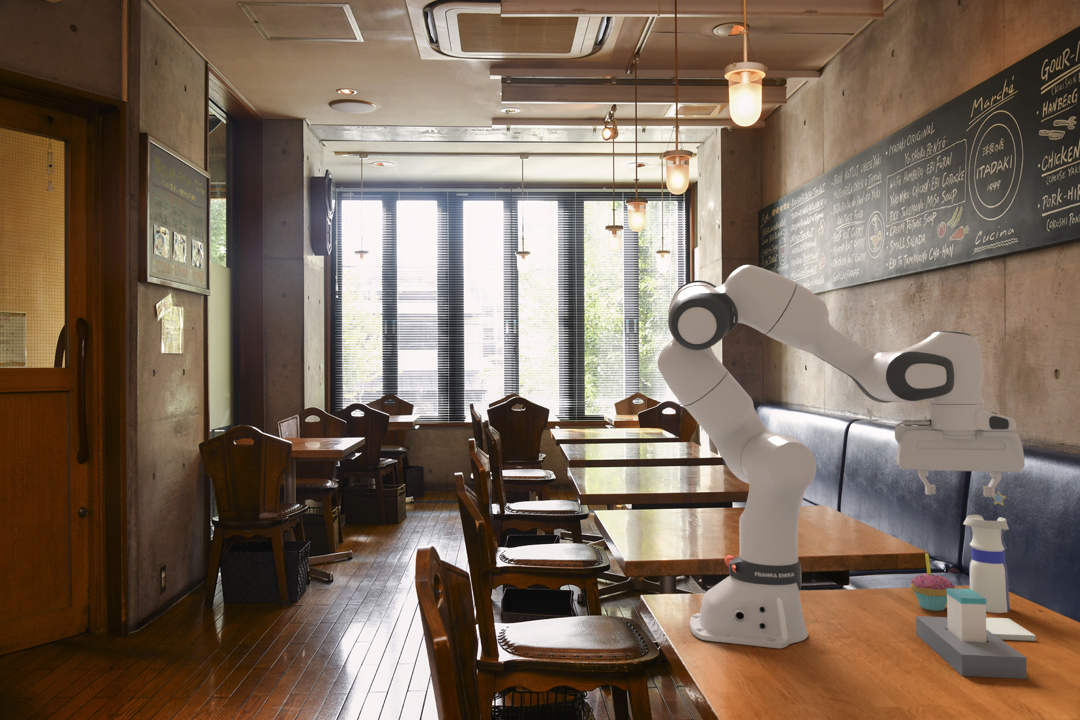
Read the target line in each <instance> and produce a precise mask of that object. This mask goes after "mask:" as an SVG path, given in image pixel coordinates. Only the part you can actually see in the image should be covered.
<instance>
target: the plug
mask: <svg viewBox="0 0 1080 720" xmlns="http://www.w3.org/2000/svg"><path fill="white" fill-rule="evenodd" d="M946 607H947V609H946V611H947V613H946V614H947V616H946V617H947V621H948V631H949V632H950V633H951V634H952V635H954V636H955V637H956V638H957V639H959V640H960V641H967V642H986V618H987V612H986V598H984V597H983V596H981V595H979V594H978V593H976V592H974V591H973V590H971V589H969V588H959V587H957V588H956V587H955V588H947V604H946Z"/></svg>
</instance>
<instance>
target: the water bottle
mask: <svg viewBox="0 0 1080 720" xmlns="http://www.w3.org/2000/svg"><path fill="white" fill-rule="evenodd" d="M1006 498H1007V496H1006V495H1002V494H1001V492H1000V491H999V490H997V492H996V493H995V497H992V499H994V502H993V505H997V504H999V505H1001V506H1003V507H1004V502H1003V501H1004V500H1005V499H1006ZM1007 522H1008V521H1007V519H1006V518H1004V517H1001V516H999V517H998V518H997V519H996V520H985V519H984V517H983V516H982V515H979V514H969V515H967V516H966V518H965V520H964V521H963V523H962V524H963V525H965V526H966V527H970V529H971V533H972V535H971V540H970V542H968V545H969V546H970V547H971V549H970V551H971V553H970V555H971V557H970V561H969V566H968V571H969V572H968V574H969V575H968V576H969V577H968V578H969V579H968V581H969V585H968V587H969V588H968V589H971V590H973V591H974V592H976V593H978V594H979V595H981V596H983V597H984V598H986V613H987V612H988V613H995V614H1003V613H1005V614H1006V613H1009V612H1010V611H1011V605H1010V603H1011V602H1010V596H1009V574H1008V566H1007V563H1006V550H1007V548H1008V547H1007V546H1006V544H1005V541H1004V532H1005V531H1009V530H1010V528H1009V525H1008V523H1007Z"/></svg>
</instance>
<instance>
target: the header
mask: <svg viewBox="0 0 1080 720" xmlns="http://www.w3.org/2000/svg"><path fill="white" fill-rule="evenodd" d="M915 635H916V636H918V638H919V639H920V640H922V641H923V642H924V644H926V645H927V646H928V647H930V648H931V650H932V651H934V652H935V653H936V655H939V657H941V658H942V659H943V660H944V661H945V662H946V663H948V665H949V666H950V667H952V669H954V670H955V671H956V672H957V673H958V674H959V675H961V676H962V677H978V678H980V677H981V678H1000V679H1020V680H1021V679H1025V680H1027V679H1028V678H1027V675H1028V674H1027V657H1026V656H1025V655H1024V654H1022V653H1021V652H1019V651H1018V650H1016V649H1015V648H1013V646H1011V645H1010V644H1008V643H1007V642H1005V640H1004V641H1003V640H1002V639H999V638H998V637H997V636H995V635H994V634H992V633H991V632H990V631H988V630H987V629H986V642H967V641H960V640H959V639H957V638H956V637H955V636H954V635H952V634H951V633H950V632H949V631H948V621H947V616H924V615H922V616H920V615H918V616H917V615H916V616H915Z"/></svg>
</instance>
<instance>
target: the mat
mask: <svg viewBox="0 0 1080 720" xmlns="http://www.w3.org/2000/svg"><path fill="white" fill-rule="evenodd" d="M986 629H987V630H988V631H990V632H991V633H992V634H994V635H995V636H997V637H998V638H999V639H1001V640H1002V641H1003V640H1004V641H1005V640H1007V641H1009V640H1010V641H1031V642H1036V640H1037V637H1036V635H1035V634H1034V633H1033V632H1030V631H1029V630H1028V629H1026V628H1024V627H1023V626H1021V625H1020V624H1018V623H1017V622H1015V621H1013V620H1012V619H1010V618H1009V617H1008V618H1007V617H1006V618H1005V617H986Z"/></svg>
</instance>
